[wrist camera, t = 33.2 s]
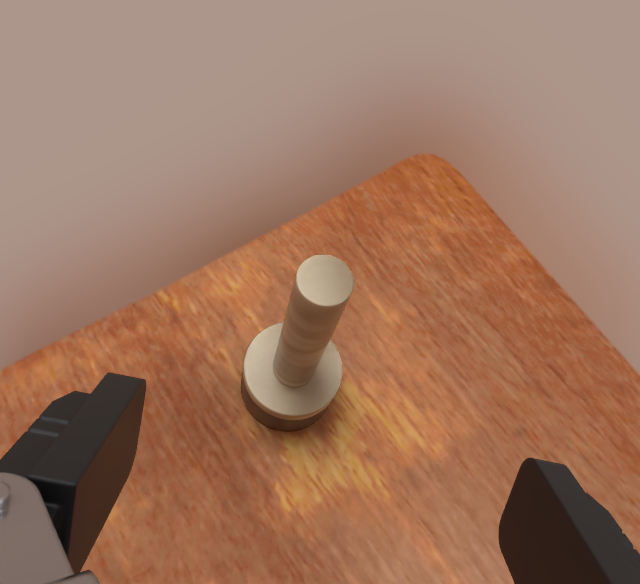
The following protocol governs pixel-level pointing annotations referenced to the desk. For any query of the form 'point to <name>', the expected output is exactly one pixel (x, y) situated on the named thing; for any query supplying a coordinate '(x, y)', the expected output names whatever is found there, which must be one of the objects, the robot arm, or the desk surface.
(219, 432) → the desk surface
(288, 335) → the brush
